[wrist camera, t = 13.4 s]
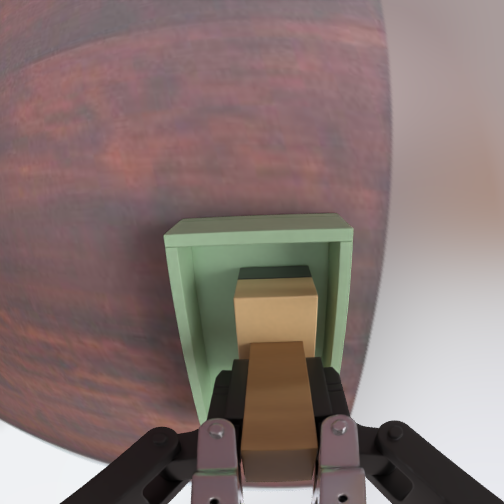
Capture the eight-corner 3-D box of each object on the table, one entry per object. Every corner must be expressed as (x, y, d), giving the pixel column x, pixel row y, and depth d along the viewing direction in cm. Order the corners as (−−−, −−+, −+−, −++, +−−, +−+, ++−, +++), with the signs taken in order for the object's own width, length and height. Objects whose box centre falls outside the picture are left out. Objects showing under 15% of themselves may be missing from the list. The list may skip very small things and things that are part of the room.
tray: (181, 218, 16) (162, 234, 13) (337, 213, 16) (353, 228, 13) (212, 414, 21) (205, 446, 18) (321, 412, 21) (326, 445, 18)
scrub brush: (239, 267, 16) (210, 402, 7) (308, 264, 16) (348, 398, 7) (247, 369, 18) (234, 503, 10) (304, 367, 18) (320, 500, 9)
